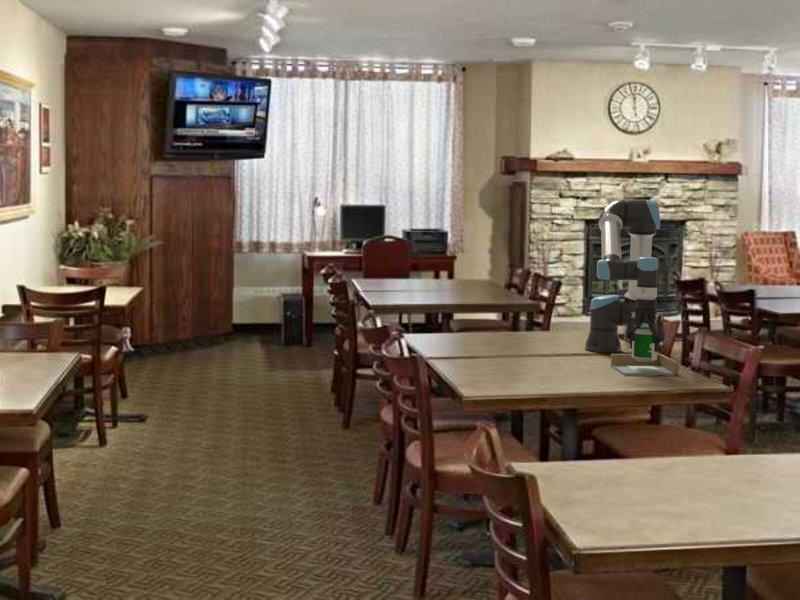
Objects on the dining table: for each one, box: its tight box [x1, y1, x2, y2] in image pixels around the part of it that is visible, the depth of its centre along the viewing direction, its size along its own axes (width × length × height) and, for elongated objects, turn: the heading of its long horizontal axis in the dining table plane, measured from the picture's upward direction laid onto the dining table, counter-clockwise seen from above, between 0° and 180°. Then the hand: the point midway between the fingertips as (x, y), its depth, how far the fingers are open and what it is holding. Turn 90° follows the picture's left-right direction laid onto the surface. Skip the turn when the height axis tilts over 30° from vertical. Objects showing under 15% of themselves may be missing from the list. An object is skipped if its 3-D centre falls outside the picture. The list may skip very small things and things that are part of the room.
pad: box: [627, 366, 661, 371], centre depth 400 cm, size 10×10×1 cm
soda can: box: [634, 327, 654, 362], centre depth 399 cm, size 8×8×12 cm
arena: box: [610, 353, 680, 377], centre depth 400 cm, size 20×20×5 cm
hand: (644, 358), depth 400 cm, fingers closed on soda can, 7 cm apart
